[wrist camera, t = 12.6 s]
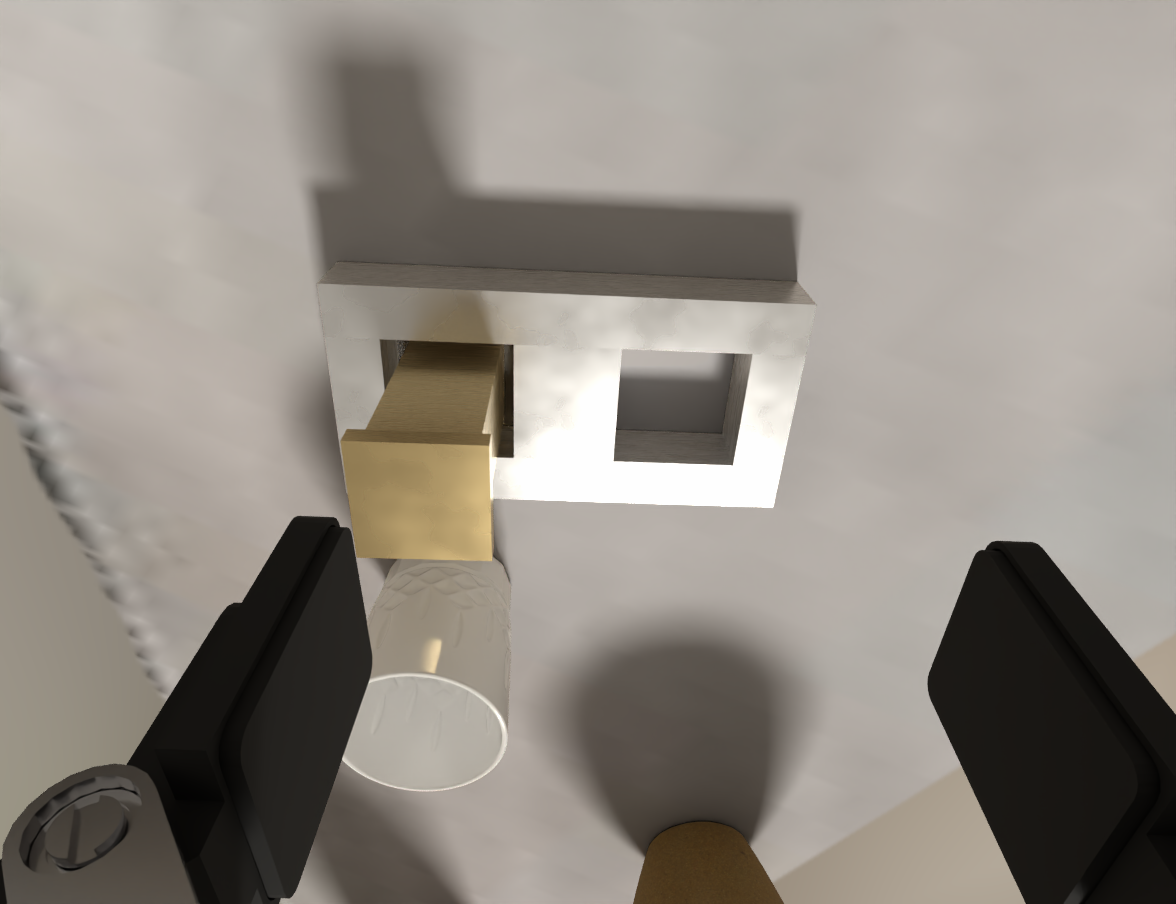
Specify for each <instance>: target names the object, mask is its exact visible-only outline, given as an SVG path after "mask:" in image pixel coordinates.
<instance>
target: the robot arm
mask: <svg viewBox="0 0 1176 904" xmlns="http://www.w3.org/2000/svg"><path fill="white" fill-rule="evenodd" d="M372 659H373V657H372V650H371V644H370V638H369V632H368V626H367V620H366V615H365V609H364V603H363V597H362V591H361V585H360V580H359V574H358V568H357V562H356V556H355V551H354V545H353V539H352V534H351V531H350V529H349V528H347V527H340V525H339V522H338V520H337V519H336V518H334V517H312V516H297V517H294V518H293V520H292V521H291V522H290V524H289V525H288V527H287V529H286V530H285V532H284V534H283V535H282V537H281V539H280V540H279V542H278V544H277V545H276V547H275V549H274V550H273V552H272V554H271V555H270V557H269V559H268V560H267V562H266V563H265V565H264V567H263V568H262V570H261V572H260V573H259V575H258V577H257V578H256V580H255V582H254V583H253V585H252V587H251V588H250V590H249V592H248V593H247V595H246V597H245V598H244V600H243V602H242V603H233V604H231V605H229V606H227V608H226V609H225V610H224V611H223V612H222V614H221V615H220V617H219V618H218V620H217V621H216V623H215V625H214V626H213V628H212V629H211V631H210V633H209V634H208V636H207V637H206V639H205V640H204V642H203V644H202V645H201V647H200V648H199V650H198V652H197V653H196V655H195V656H194V658H193V660H192V661H191V663H190V664H189V666H188V668H187V669H186V671H185V672H184V674H183V676H182V677H181V679H180V680H179V682H178V684H177V685H176V687H175V688H174V690H173V692H172V693H171V695H170V696H169V698H168V699H167V701H166V703H165V704H164V706H163V708H162V709H161V711H160V712H159V714H158V716H157V717H156V719H155V720H154V722H153V724H152V725H151V727H150V728H149V730H148V731H147V733H146V735H145V736H144V738H143V739H142V741H141V743H140V744H139V746H138V747H137V749H136V751H135V752H134V754H133V755H132V757H131V759H130V760H129V762H128V763H127V765H122V764H109V765H103V766H96V767H92V768H89V769H86V770H84V771H81V772H78V773H76V774H73V775H70V776H69V777H67V778H65V779H63V780H62V781H60V782H58V783H57V784H55V785H53V786H52V787H50V788H48V789H47V790H46V791H45V792H43V793H42V794H41V795H40V796H39V797H38V798H36V799H35V800H34V801H33V802H31V803H30V804H29V805H28V806H27V807H26V809H25V810H24V811H23V812H22V814H21V815H20V816H19V817H18V818H17V820H16V821H15V822H14V823H13V825H12V827H11V829H10V831H9V833H8V835H7V837H6V840H5V842H4V844H3V852H2V859H1V860H0V904H279V902H280V899H281V898H291V897H292V896H293V894H294V893H295V891H296V889H297V887H298V884H299V881H300V879H301V876H302V873H303V870H304V867H305V864H306V861H307V858H308V855H309V853H310V850H311V847H312V844H313V841H314V838H315V835H316V832H317V830H318V827H319V824H320V821H321V818H322V815H323V812H324V809H325V807H326V804H327V801H328V798H329V795H330V792H331V789H332V786H333V784H334V781H335V778H336V775H337V772H338V769H339V766H340V763H341V760H342V758H343V755H344V752H345V749H346V746H347V743H348V740H349V737H350V735H351V732H352V729H353V726H354V723H355V720H356V717H357V714H358V712H359V709H360V706H361V703H362V700H363V697H364V694H365V691H366V689H367V686H368V683H369V680H370V676H371V671H372ZM928 692H929V696H930V699H931V701H932V704H933V706H934V708H935V710H936V712H937V714H938V716H939V719H940V721H941V723H942V725H943V727H944V729H945V731H946V734H947V736H948V738H949V740H950V742H951V744H952V746H953V749H954V751H955V753H956V755H957V757H958V759H959V761H960V764H961V766H962V768H963V770H964V772H965V774H966V776H967V778H968V780H969V783H970V785H971V787H972V789H973V791H974V794H975V796H976V798H977V800H978V802H979V804H980V806H981V808H982V810H983V813H984V814H985V817H986V819H987V821H988V824H989V826H990V828H991V830H992V832H993V834H994V836H995V838H996V841H997V843H998V845H999V847H1000V849H1001V851H1002V853H1003V856H1004V858H1005V860H1006V862H1007V864H1008V866H1009V869H1010V871H1011V873H1012V875H1013V877H1014V879H1015V881H1016V883H1017V886H1018V887H1019V890H1020V892H1021V894H1022V896H1023V898H1024V901H1025V903H1026V904H1176V714H1175V713H1174V712H1173V711H1172V709H1171V708H1170V707H1169V706H1168V705H1167V703H1166V702H1165V701H1164V700H1163V698H1162V697H1161V696H1160V694H1159V693H1158V692H1157V691H1156V689H1155V688H1154V687H1153V686H1152V685H1151V683H1150V682H1149V681H1148V679H1147V678H1146V677H1145V676H1144V674H1143V673H1142V672H1141V671H1140V669H1139V668H1138V667H1137V666H1136V664H1135V663H1134V662H1133V661H1132V659H1131V658H1130V657H1129V656H1128V654H1127V653H1126V652H1125V651H1124V649H1123V648H1122V647H1121V646H1120V644H1119V643H1118V642H1117V641H1116V639H1115V638H1114V637H1113V636H1112V634H1111V633H1110V632H1109V631H1108V629H1107V628H1106V627H1105V626H1104V624H1103V623H1102V622H1101V621H1100V619H1099V618H1098V617H1097V616H1096V614H1095V613H1094V612H1093V611H1092V609H1091V608H1090V607H1089V606H1088V604H1087V603H1086V602H1085V601H1084V599H1083V598H1082V597H1081V596H1080V594H1079V593H1078V592H1077V591H1076V589H1075V588H1074V587H1073V586H1072V584H1071V583H1070V582H1069V581H1068V579H1067V578H1066V577H1065V576H1064V574H1063V573H1062V572H1061V571H1060V569H1059V568H1058V567H1057V566H1056V564H1055V563H1054V562H1053V561H1052V560H1051V558H1050V557H1049V556H1048V555H1047V553H1046V552H1045V551H1044V550H1043V548H1042V547H1040V546H1039V545H1038V544H1036V543H1033V542H1012V541H994V542H991V543H990V544H989V545H988V546H987V548H986V549H985V550H981V551H978V552H977V553H976V554H975V556H974V558H973V561H972V563H971V566H970V569H969V571H968V574H967V576H966V579H965V582H964V584H963V587H962V589H961V592H960V594H959V597H958V600H957V602H956V605H955V607H954V610H953V613H952V615H951V618H950V620H949V623H948V625H947V628H946V631H945V633H944V636H943V638H942V641H941V644H940V646H939V649H938V651H937V654H936V657H935V659H934V662H933V664H932V667H931V669H930V672H929V676H928Z"/></svg>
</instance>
